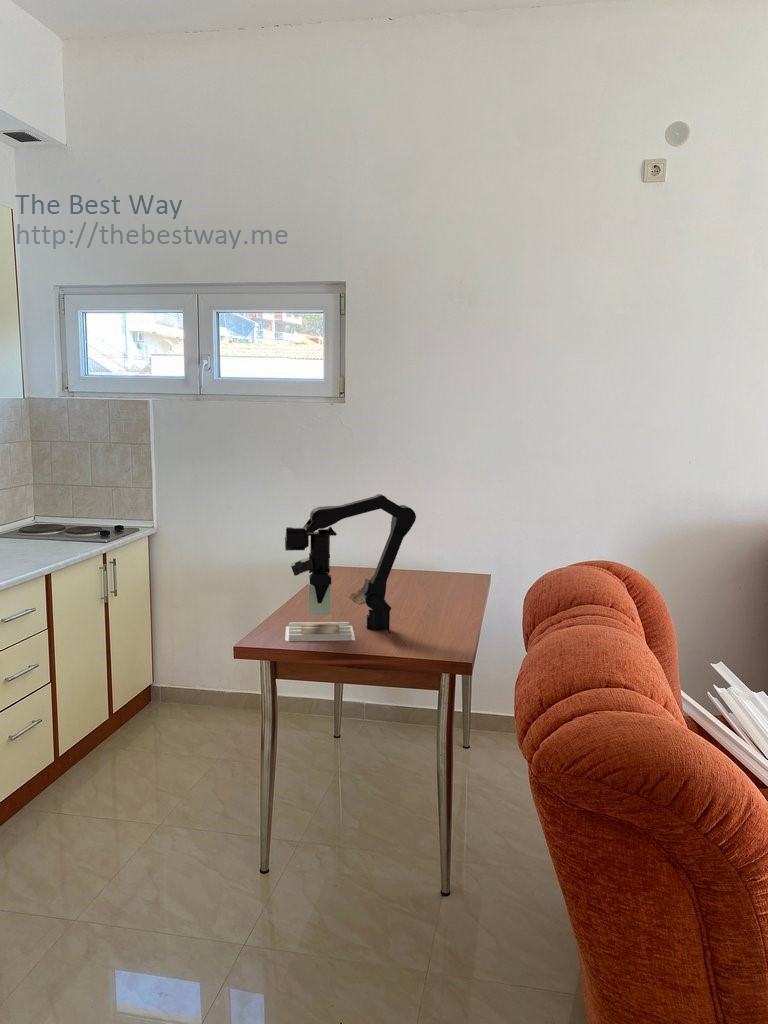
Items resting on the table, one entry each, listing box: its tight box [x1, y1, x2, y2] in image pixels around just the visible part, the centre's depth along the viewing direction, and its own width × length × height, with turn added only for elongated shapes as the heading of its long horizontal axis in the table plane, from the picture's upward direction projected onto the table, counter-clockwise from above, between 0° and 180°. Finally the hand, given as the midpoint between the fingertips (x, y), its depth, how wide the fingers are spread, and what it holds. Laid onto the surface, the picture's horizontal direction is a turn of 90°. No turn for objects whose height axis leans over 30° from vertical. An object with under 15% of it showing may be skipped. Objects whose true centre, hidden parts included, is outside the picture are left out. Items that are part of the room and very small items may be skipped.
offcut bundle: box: [301, 624, 339, 634], centre depth 227 cm, size 11×3×4 cm, turn 96°
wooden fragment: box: [348, 587, 365, 605], centre depth 283 cm, size 26×11×1 cm, turn 164°
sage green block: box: [307, 582, 332, 616], centre depth 233 cm, size 6×3×9 cm, turn 96°
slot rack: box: [284, 621, 356, 642], centre depth 231 cm, size 20×15×2 cm
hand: (319, 601), depth 234 cm, fingers closed on sage green block, 3 cm apart
